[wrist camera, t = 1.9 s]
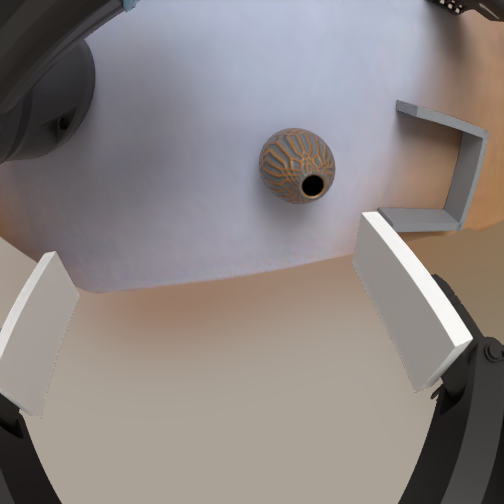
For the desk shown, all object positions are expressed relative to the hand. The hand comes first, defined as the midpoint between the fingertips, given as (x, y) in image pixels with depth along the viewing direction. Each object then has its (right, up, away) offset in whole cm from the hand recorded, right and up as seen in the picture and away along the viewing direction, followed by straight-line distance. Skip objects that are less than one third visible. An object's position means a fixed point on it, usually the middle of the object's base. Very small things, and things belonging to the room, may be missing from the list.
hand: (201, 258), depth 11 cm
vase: (+6, +11, +17) cm, 21 cm away
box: (+25, +11, +18) cm, 33 cm away
